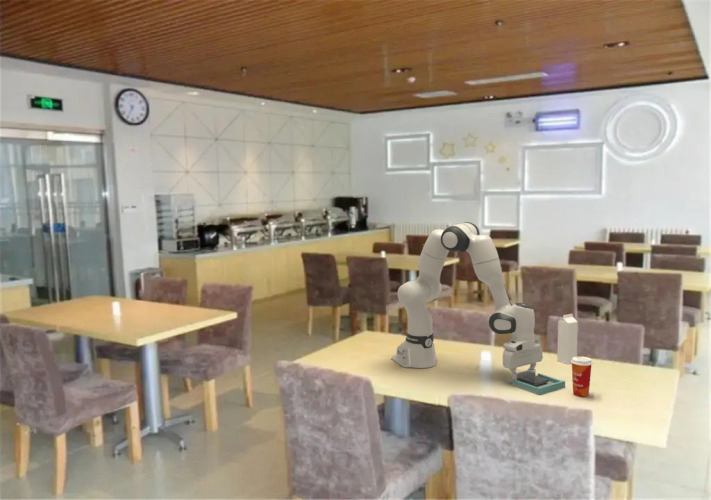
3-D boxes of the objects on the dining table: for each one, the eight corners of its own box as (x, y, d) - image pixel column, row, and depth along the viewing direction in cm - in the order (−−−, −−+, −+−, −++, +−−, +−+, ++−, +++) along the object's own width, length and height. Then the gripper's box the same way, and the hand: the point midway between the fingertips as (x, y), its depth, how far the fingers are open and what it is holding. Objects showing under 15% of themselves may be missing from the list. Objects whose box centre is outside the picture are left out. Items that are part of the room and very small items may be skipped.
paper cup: (566, 391, 228) (567, 356, 226) (585, 390, 229) (586, 355, 227) (575, 398, 220) (576, 362, 219) (595, 397, 221) (596, 361, 219)
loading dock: (502, 383, 241) (502, 375, 240) (527, 376, 249) (527, 368, 248) (539, 397, 225) (539, 388, 224) (565, 389, 232) (565, 381, 232)
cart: (515, 382, 237) (515, 373, 237) (533, 376, 243) (533, 368, 243) (532, 388, 230) (532, 379, 229) (551, 382, 236) (551, 374, 235)
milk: (557, 361, 267) (557, 313, 264) (566, 359, 269) (567, 312, 267) (567, 364, 261) (568, 316, 259) (577, 362, 264) (577, 314, 262)
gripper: (534, 337, 248) (534, 368, 249) (500, 344, 237) (499, 377, 238) (546, 340, 242) (546, 372, 244) (511, 348, 231) (511, 382, 233)
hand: (523, 375), depth 241 cm, fingers open, 8 cm apart
